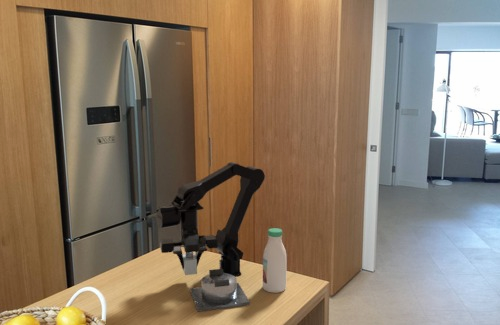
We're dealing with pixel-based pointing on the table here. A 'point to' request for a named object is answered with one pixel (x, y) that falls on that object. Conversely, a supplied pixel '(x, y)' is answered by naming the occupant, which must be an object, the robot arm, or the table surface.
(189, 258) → the pump
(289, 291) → the table surface
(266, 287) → the milk bottle
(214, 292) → the grey stacked fixture
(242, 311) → the table surface
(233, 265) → the robot arm
